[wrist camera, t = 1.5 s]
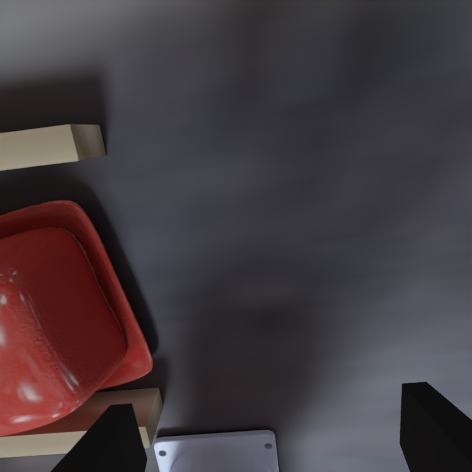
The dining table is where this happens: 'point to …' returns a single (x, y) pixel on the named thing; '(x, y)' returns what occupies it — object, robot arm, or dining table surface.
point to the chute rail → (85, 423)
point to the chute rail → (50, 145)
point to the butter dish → (60, 317)
